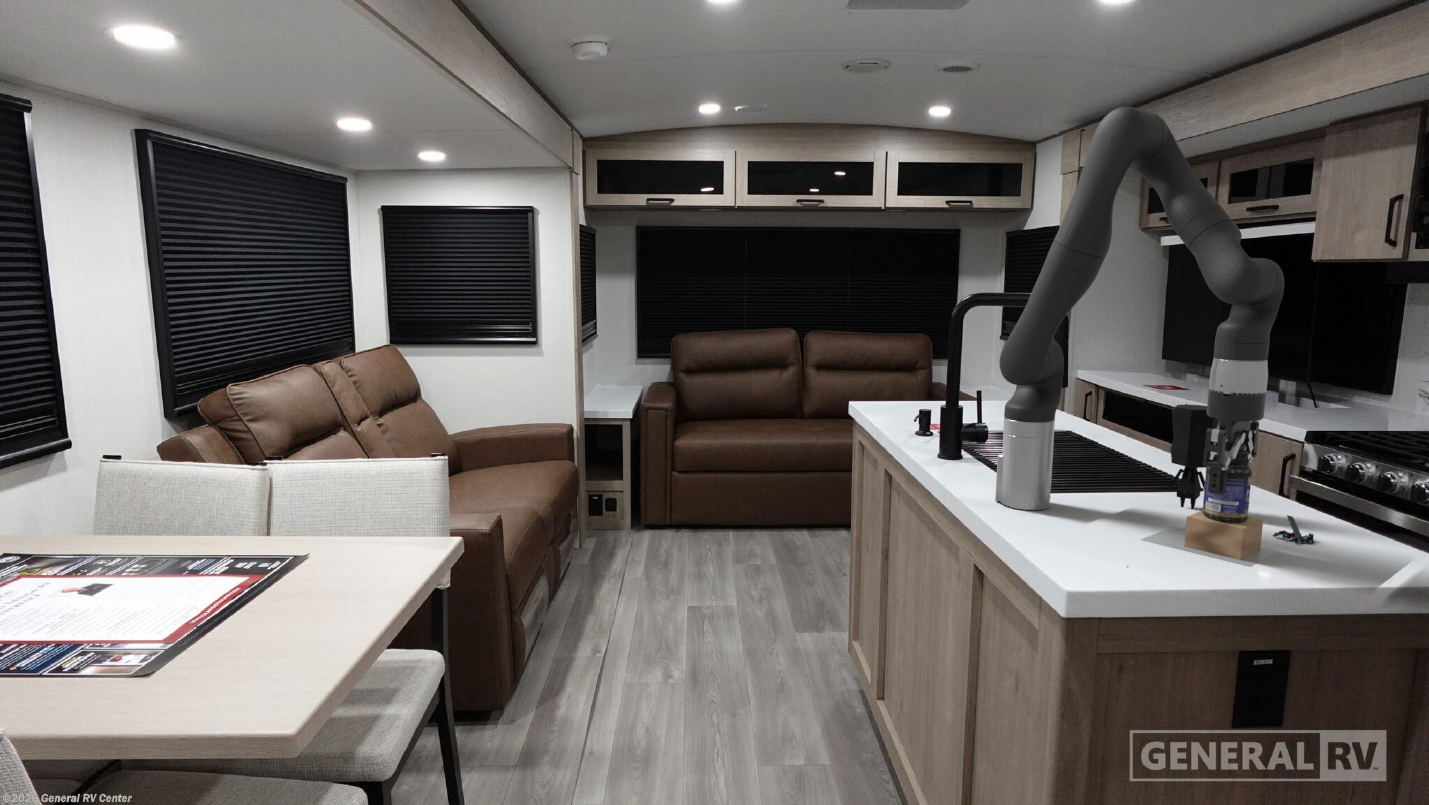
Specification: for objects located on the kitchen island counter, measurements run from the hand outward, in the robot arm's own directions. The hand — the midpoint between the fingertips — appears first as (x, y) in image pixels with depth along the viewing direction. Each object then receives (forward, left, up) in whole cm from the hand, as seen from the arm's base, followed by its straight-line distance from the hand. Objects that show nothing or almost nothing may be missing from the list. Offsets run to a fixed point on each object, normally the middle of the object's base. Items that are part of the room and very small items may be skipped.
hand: (1227, 489), depth 126 cm
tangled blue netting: (+5, +14, -12) cm, 19 cm away
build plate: (-2, 0, -11) cm, 11 cm away
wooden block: (0, 0, -10) cm, 10 cm away
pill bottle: (0, 0, -5) cm, 5 cm away
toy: (-15, +24, -11) cm, 30 cm away
